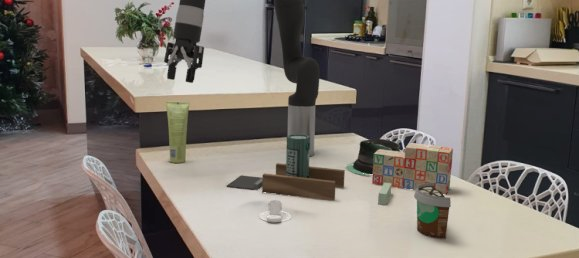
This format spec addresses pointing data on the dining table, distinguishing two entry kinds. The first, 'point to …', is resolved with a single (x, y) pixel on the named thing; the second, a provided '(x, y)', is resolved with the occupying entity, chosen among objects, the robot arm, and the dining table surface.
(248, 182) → the mat
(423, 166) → the stack of blocks
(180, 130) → the tube
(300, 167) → the can
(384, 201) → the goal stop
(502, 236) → the dining table surface
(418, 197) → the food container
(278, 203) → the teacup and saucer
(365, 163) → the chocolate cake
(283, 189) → the lane
